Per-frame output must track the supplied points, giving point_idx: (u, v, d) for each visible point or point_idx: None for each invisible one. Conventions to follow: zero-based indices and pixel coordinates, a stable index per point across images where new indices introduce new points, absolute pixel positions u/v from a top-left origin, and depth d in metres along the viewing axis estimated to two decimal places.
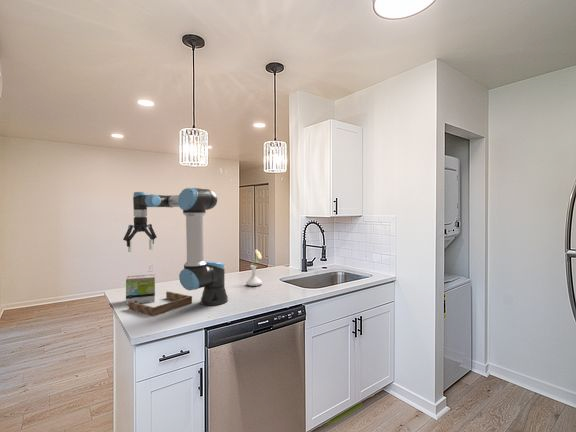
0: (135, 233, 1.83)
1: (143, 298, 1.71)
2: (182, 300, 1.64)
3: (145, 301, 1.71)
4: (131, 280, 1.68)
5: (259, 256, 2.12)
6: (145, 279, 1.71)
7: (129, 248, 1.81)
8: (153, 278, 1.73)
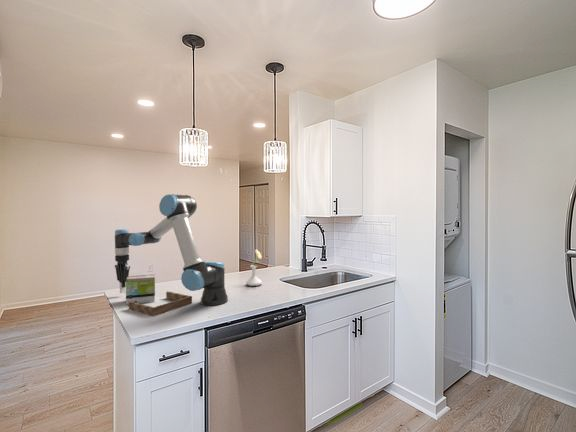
0: (119, 272, 1.84)
1: (143, 298, 1.71)
2: (182, 300, 1.64)
3: (145, 301, 1.71)
4: (131, 280, 1.68)
5: (259, 256, 2.12)
6: (145, 279, 1.71)
7: None
8: (153, 278, 1.73)
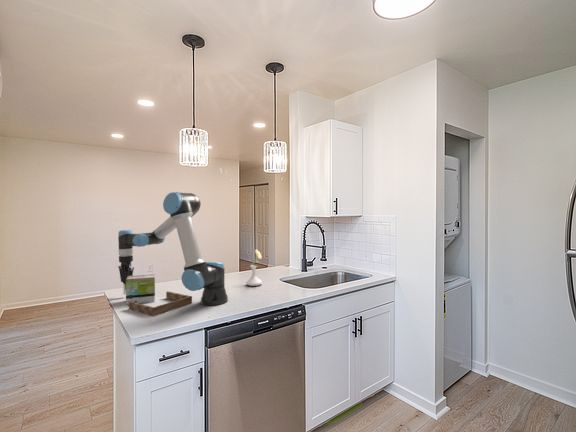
0: (123, 273, 1.82)
1: (143, 298, 1.71)
2: (182, 300, 1.64)
3: (145, 301, 1.71)
4: (131, 280, 1.68)
5: (259, 256, 2.12)
6: (145, 279, 1.71)
7: None
8: (153, 278, 1.73)
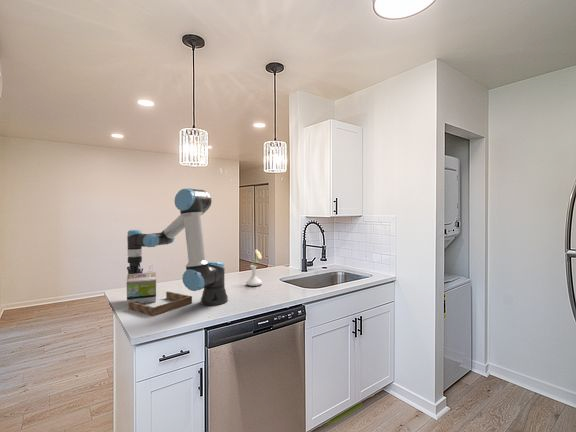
0: None
1: (144, 299, 1.70)
2: (182, 300, 1.64)
3: (146, 301, 1.71)
4: (132, 283, 1.64)
5: (259, 256, 2.12)
6: (146, 282, 1.67)
7: None
8: (154, 281, 1.69)
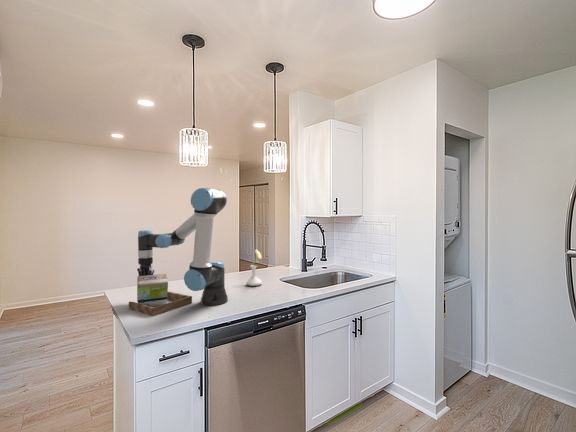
0: None
1: (155, 302, 1.64)
2: (182, 300, 1.64)
3: (157, 304, 1.65)
4: (143, 286, 1.58)
5: (259, 256, 2.12)
6: (158, 284, 1.61)
7: None
8: (166, 283, 1.63)
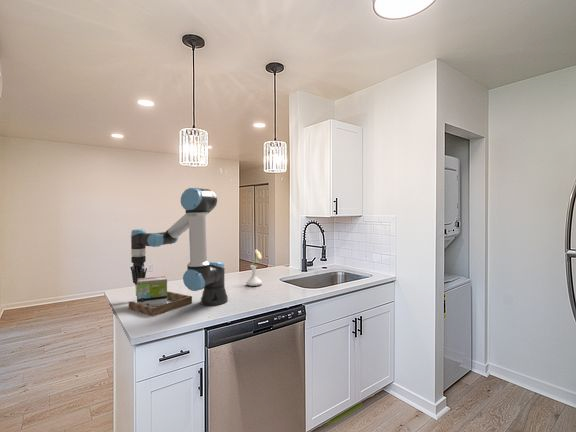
0: (135, 274, 1.75)
1: (155, 301, 1.65)
2: (182, 300, 1.64)
3: (157, 304, 1.66)
4: (143, 283, 1.62)
5: (259, 256, 2.12)
6: (157, 281, 1.65)
7: None
8: (165, 280, 1.67)
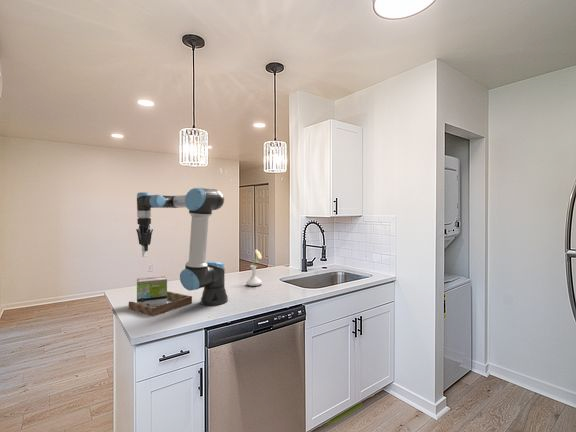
0: (141, 235, 1.82)
1: (155, 301, 1.65)
2: (182, 300, 1.64)
3: (157, 304, 1.66)
4: (143, 283, 1.62)
5: (259, 256, 2.12)
6: (157, 281, 1.65)
7: None
8: (165, 280, 1.67)
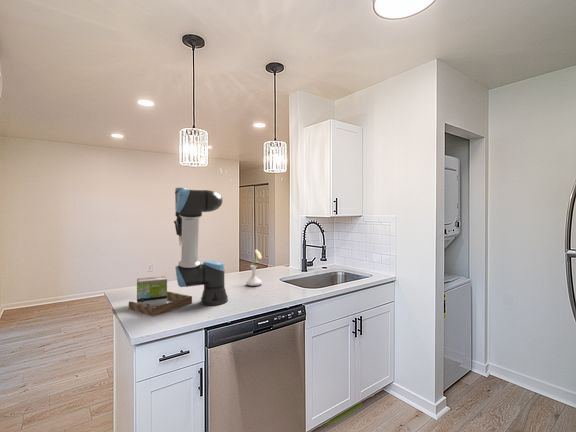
0: (179, 226, 2.01)
1: (155, 301, 1.65)
2: (182, 300, 1.64)
3: (157, 304, 1.66)
4: (143, 283, 1.62)
5: (259, 256, 2.12)
6: (157, 281, 1.65)
7: None
8: (165, 280, 1.67)
